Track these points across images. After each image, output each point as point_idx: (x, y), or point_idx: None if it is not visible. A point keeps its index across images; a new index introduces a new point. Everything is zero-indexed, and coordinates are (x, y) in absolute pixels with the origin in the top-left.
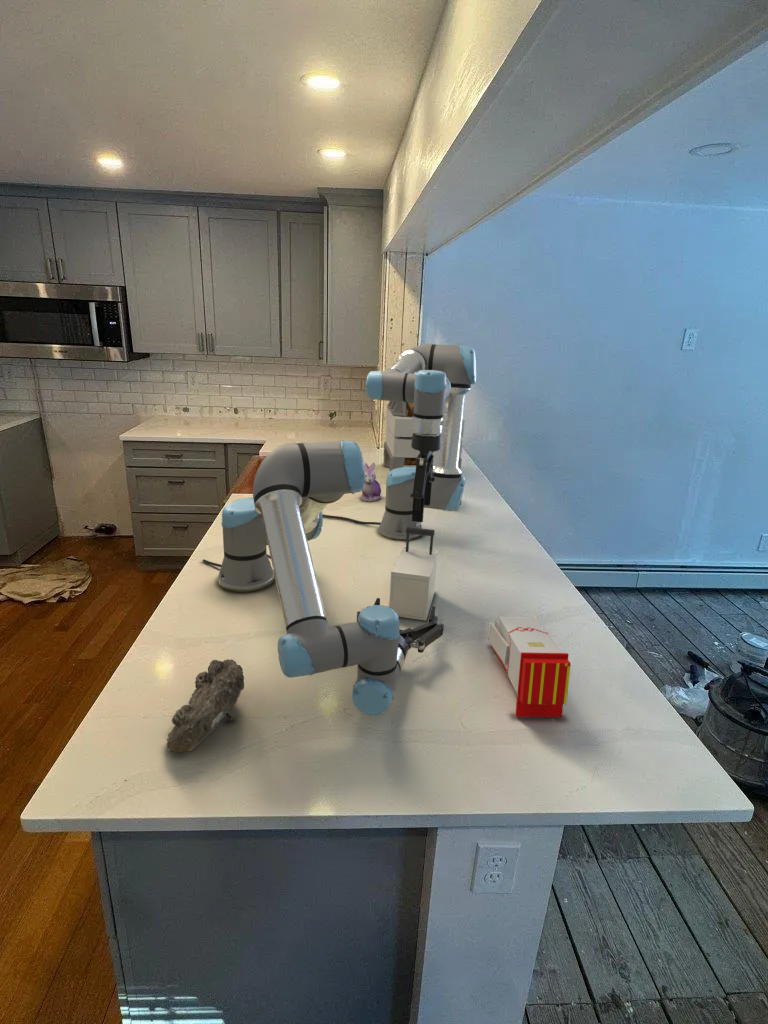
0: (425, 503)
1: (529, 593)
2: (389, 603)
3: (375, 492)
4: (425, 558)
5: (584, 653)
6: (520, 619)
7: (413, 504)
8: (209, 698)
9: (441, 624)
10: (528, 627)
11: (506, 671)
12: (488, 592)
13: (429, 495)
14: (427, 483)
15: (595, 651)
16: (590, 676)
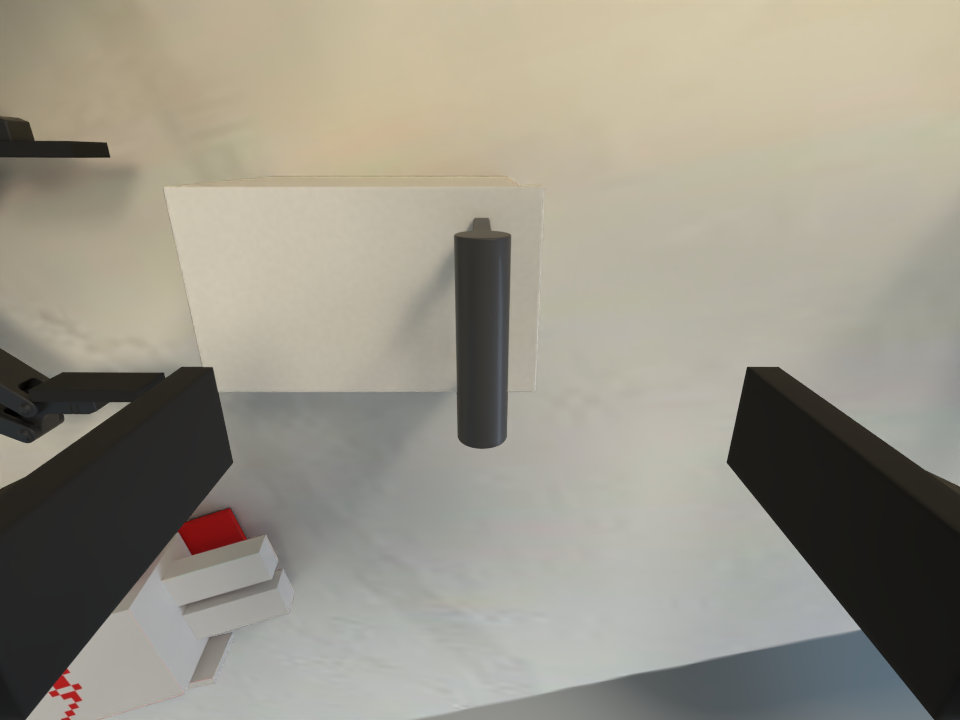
0: (744, 430)
1: (586, 591)
2: (250, 178)
3: None
4: (417, 344)
5: (306, 681)
6: (139, 662)
7: (25, 484)
8: None
9: (22, 436)
10: (81, 686)
11: None
12: (563, 488)
13: (792, 529)
14: (943, 649)
15: (325, 699)
16: (216, 683)
